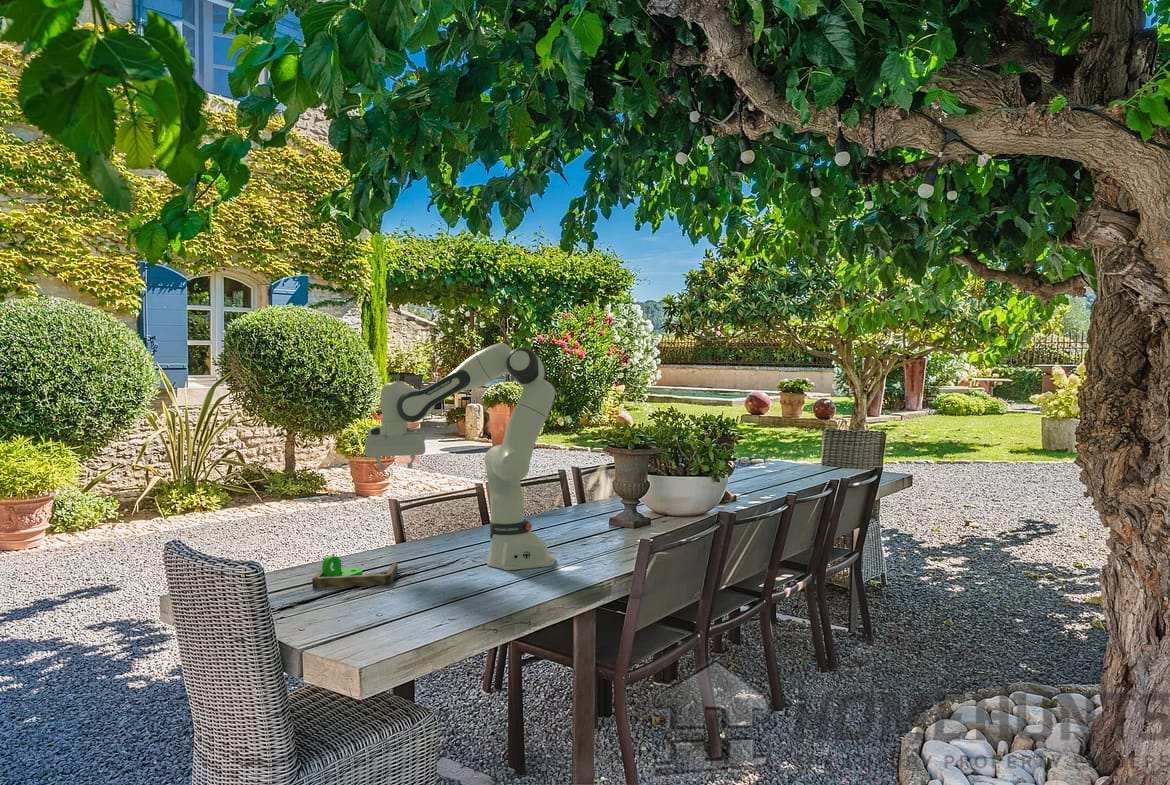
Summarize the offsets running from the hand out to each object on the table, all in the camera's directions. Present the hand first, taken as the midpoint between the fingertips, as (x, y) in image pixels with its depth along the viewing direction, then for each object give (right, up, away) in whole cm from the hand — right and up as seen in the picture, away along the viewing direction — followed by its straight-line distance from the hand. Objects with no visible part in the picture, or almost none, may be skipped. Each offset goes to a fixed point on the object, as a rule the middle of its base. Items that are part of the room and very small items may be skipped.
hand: (396, 468), depth 261 cm
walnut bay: (-6, -32, -25) cm, 41 cm away
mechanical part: (-10, -33, -24) cm, 42 cm away
